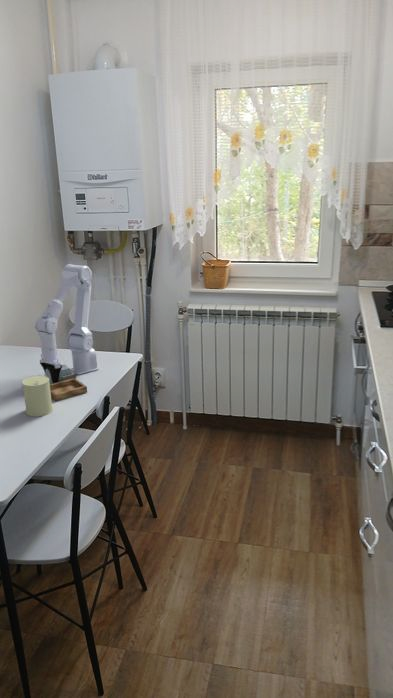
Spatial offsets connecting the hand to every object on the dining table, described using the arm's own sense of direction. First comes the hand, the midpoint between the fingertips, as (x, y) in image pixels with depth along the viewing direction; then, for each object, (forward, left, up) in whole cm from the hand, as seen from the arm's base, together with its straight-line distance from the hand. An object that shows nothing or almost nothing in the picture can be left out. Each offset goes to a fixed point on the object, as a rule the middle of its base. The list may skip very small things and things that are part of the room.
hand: (52, 380), depth 215 cm
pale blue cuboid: (-3, 0, -2) cm, 3 cm away
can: (+13, +20, -2) cm, 24 cm away
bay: (-5, 0, -2) cm, 6 cm away
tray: (-1, +11, -2) cm, 11 cm away
